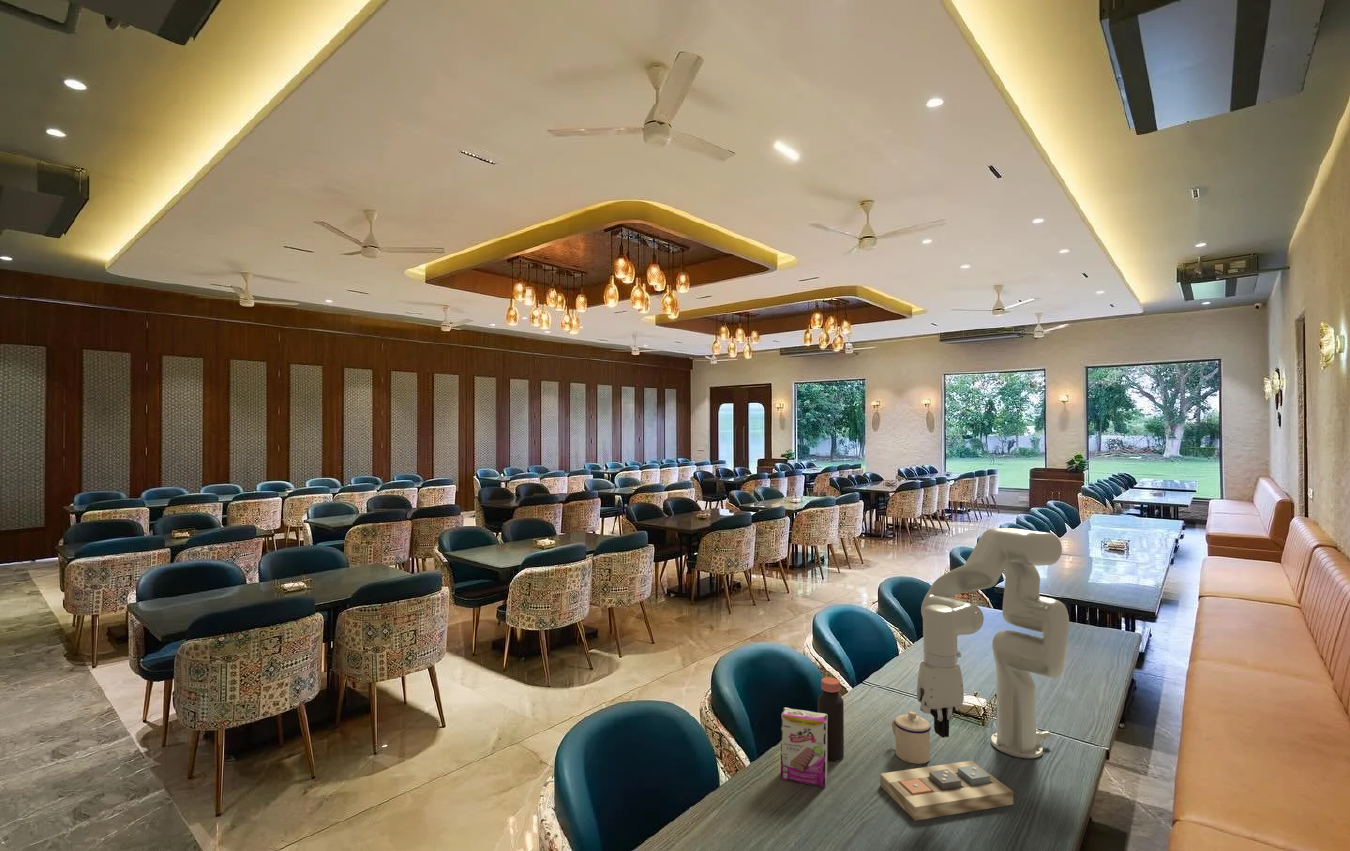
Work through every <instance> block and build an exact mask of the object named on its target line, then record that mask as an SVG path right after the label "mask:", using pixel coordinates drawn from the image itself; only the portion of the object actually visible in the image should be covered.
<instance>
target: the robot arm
mask: <svg viewBox="0 0 1350 851" xmlns="http://www.w3.org/2000/svg"><path fill="white" fill-rule="evenodd" d="M1062 552H1063V546H1062V542H1061V540H1060V538H1058V536H1057V535H1056V534H1054V533H1051V532H1045V531H1038V530H1037V531H1035V530H1028V529H1022V528H1014V527H1013V528H1011V527H1004V528H1003V527H1001V528H999V527H995V528H994V527H993V528H992V527H991V528H989V529H987V530H985V531H984V532H983V533H982V535H981V536H980V538H979V540H978V542H977V543H976V545H975V546H974V548H973V550H972V551H971V553H970V555H969V557H967V559H966V562H965V563H964V564H963V565H961V566H958V567H956V568H954V569H952V570H950V571H948V572H946V573H945V574H943V575H940V576H939V577H938V578H937V579H936V580H934V582H932V585H931V586H930V588H929V589H928V591H927V592H926V594H925V596H924V598H923V600H922V602H921V607H920V608H921V609H920V613H921V617H922V636H923V638H922V641H923V643H922V644H923V661H921V662H920V663H919V668H918V674H917V683H916V684H917V686H916V700H917V702H918V703H920V708H919V711H921V712H922V713H924V714H929V715H931V716H932V717H933V729H934V730H933V731H934V733H935V734H936V735H938V736H939V737H941V738H943V739H944V738H949V737H950V721H951V720H952V717H953V714H954V713H955V711H958V710H960V709H962V708H963V705H964V700H965V699H964V698H965V697H964V694H965V692H964V682H963V681H964V680H963V674H962V671H961V666H960V664H959V663H958V662H959V660H958V659H959V658H961V656H962V654H961V652H960V651H958V637H959V636H966V635H973V634H975V633H977V632H979V630H980V629H981V628H982V627H983V624H984V621H985V617H984V613H983V611H982V609H981V608H980V607H979V606H977V605H976V604H974V603H971V602H967V601H963V600H959V599H955V598H952V597H954V596H956V595H959V594H962V593H967V592H973V591H974V592H975V591H981V590H986V589H990V588H992V587H994V586H996V585H997V584H998V582H999V580H1000V578H1001V576H1002V575H1003V573H1005V575H1004V576H1005V579H1004V589H1003V599H1002V617H1003V620H1004V621H1005V622H1006V623H1007V624H1009V625H1012V626H1015V627H1018V628H1020V629H1021V628H1022V629H1024V630H1030V631H1034V632H1038V633H1041V634H1042V636H1043V637H1040V636H1039V637H1038V636H1036V635H1032V634H1028V633H1024V632H1019V631H1016V630H1011V629H1010V630H1009V629H1008V630H999V631H998V632H997V633H996V634H995V635H994V636H993V637H992V638H993V639H992V643H991V644H992V646H991V647H992V654H993V659H994V662H995V671H996V673H995V674H996V732H995V733H993V734H992V735H991V736H990V743H991V745H992V747H994V748H995V749H997V750H998V751H1000V752H1002V753H1004V754H1005V755H1009V756H1013V757H1016V758H1021V759H1022V758H1023V759H1036V758H1039V757H1041V756H1042V755H1043V753H1044V748H1043V745H1042V744H1040V742H1041V741H1043V740H1050V739H1051V734H1050V732H1049V731H1048V730H1047V731H1040V732H1039V729H1038V728H1037V688H1036V683H1035V680H1034V678H1033V676H1032V674H1035V675H1039V676H1043V677H1046V678H1051V679H1056V678H1059V677H1060V676H1062V674H1063V673H1064V670H1065V667H1066V660H1067V650H1068V638H1069V626H1070V622H1069V621H1070V618H1069V617H1070V616H1069V613H1068V609H1067V607H1066V605H1065V604H1064V603H1063V602H1062V601H1060V600H1058V599H1055V598H1052V597H1046V596H1041V594H1040V586H1041V576H1040V573H1039V571H1038V569H1037V567H1036V566H1039V567H1040V566H1052V565H1053V564H1056V563H1058V561H1059V560H1060V559H1061V556H1062ZM1031 673H1032V674H1031Z"/></svg>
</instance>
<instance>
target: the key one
mask: <svg viewBox="0 0 1350 851" xmlns="http://www.w3.org/2000/svg"><path fill="white" fill-rule="evenodd" d="M900 785H901V786H902V787H903V788H905V789H906V790H907V791H908V792H909V793H910V794H911V795H912V796H914V795H920V794H927V793H932V790H931V789H930V788H928V787H927V786H926V785H925V784H924V783H923V782H922V781H921V780H919V779H913V780H906V781H900Z"/></svg>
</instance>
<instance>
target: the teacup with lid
mask: <svg viewBox="0 0 1350 851" xmlns="http://www.w3.org/2000/svg"><path fill="white" fill-rule="evenodd" d="M891 729H892V732H893V735H894V736H895V738H894V739H895V741H894V742H895V754H896V756H897V758H899V759H900V760H902V761H904V762H906V763H909V764H914V765H923V764H926V763H928V762H929V761H930V757H931V747H930V746H931V741H930V740H931V738H930V737H931V736H930V735H931V734H930V733H931V730H932V729H931V724H930V723H929V721H928V720H927V719H925V717H924V718H923V717H921V716H919V715H917V713H916V711H909V712H908V713H906V714H900V715H898V716H896V717H895V718H894V719H893V720H892V721H891Z"/></svg>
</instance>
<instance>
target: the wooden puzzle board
mask: <svg viewBox="0 0 1350 851" xmlns="http://www.w3.org/2000/svg"><path fill="white" fill-rule="evenodd" d="M973 765H976V766H977V767H978V768H980V769H981V770H982V771H984V772H985V773H987V774H988V775H989V776H990V784H985V785H978V786H970V785H969V784H968V783H967V782H965V781H964V780H963V779H962V778H960V777H959V776H958V768H959V767H966V766H973ZM945 769H948V770H949V771H950V772H951V773H953V774H954V775H955V776H956V777H958V778H959V779H960V780H961V788H959V789H953V790H946V791H942V790H941V789H939V788H938V787H937V786H936V785H935V784H934V783H932V782H931V781H930V780H929V772H931V771H938V770H945ZM879 776H880V777H879V778H880V782H879V783H880V785H879V786H880V787H881V788H882V789H883V790H884V792H886V793H887V794H888V795H889V796H890V797H891V798H892V799H893V801H895V802H896V803H897V804H898V805H899V806H900V807H901V808H902V809H903V810H904V811H905V812H906V813H907V814H908V815H909V817H911V818H912V819H913V820H914V821H916V822H917V821H920V820H928V819H933V818H939V817H946V816H951V815H957V814H964V813H965V814H966V813H970V812H976V811H983V810H989V809H994V808H1000V807H1007V806H1011V805H1014V791H1013V790H1012V789H1011V788H1009V787H1008V786H1006V785H1005V784H1004V783H1002V782H1000V780H998V779H997V778H996V777H994V776H993V775H992V774H990V773H989V772H988V771H986V770H984V769H983V768H982V767H981V766H979V765H978V764H976V763H975V762H974V761H973V760H967V761H960V762H959V761H958V762H952V763H945V764H939V765H932V766H923V767H916V768H910V769H904V770H896V771H890V772H889V771H888V772H882V773H881V772H880V774H879ZM913 779H919V780H921V781H922V782H923V783H924V784H925V785H926V786H927V787H928V788H930V789H931V790H932V793H927V794H920V795H914V796H912V795H911V794H910V793H909V792H908V791H907V790H906V789H905V788H903V787H902V786H901V785H900V781H906V780H913Z"/></svg>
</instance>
